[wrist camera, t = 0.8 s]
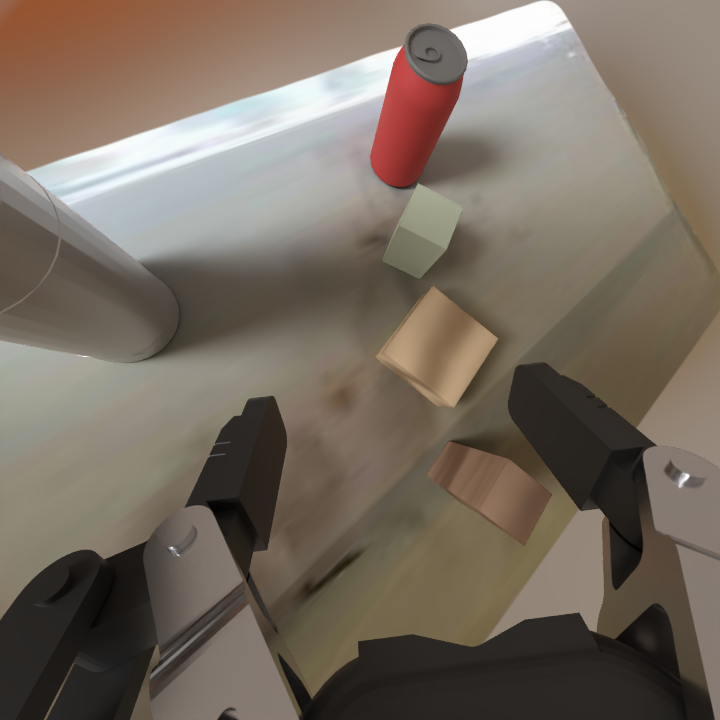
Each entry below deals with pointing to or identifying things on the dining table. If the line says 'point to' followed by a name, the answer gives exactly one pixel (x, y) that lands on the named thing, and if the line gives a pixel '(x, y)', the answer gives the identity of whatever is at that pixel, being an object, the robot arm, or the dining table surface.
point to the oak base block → (437, 348)
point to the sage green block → (422, 232)
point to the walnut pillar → (491, 488)
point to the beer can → (417, 103)
